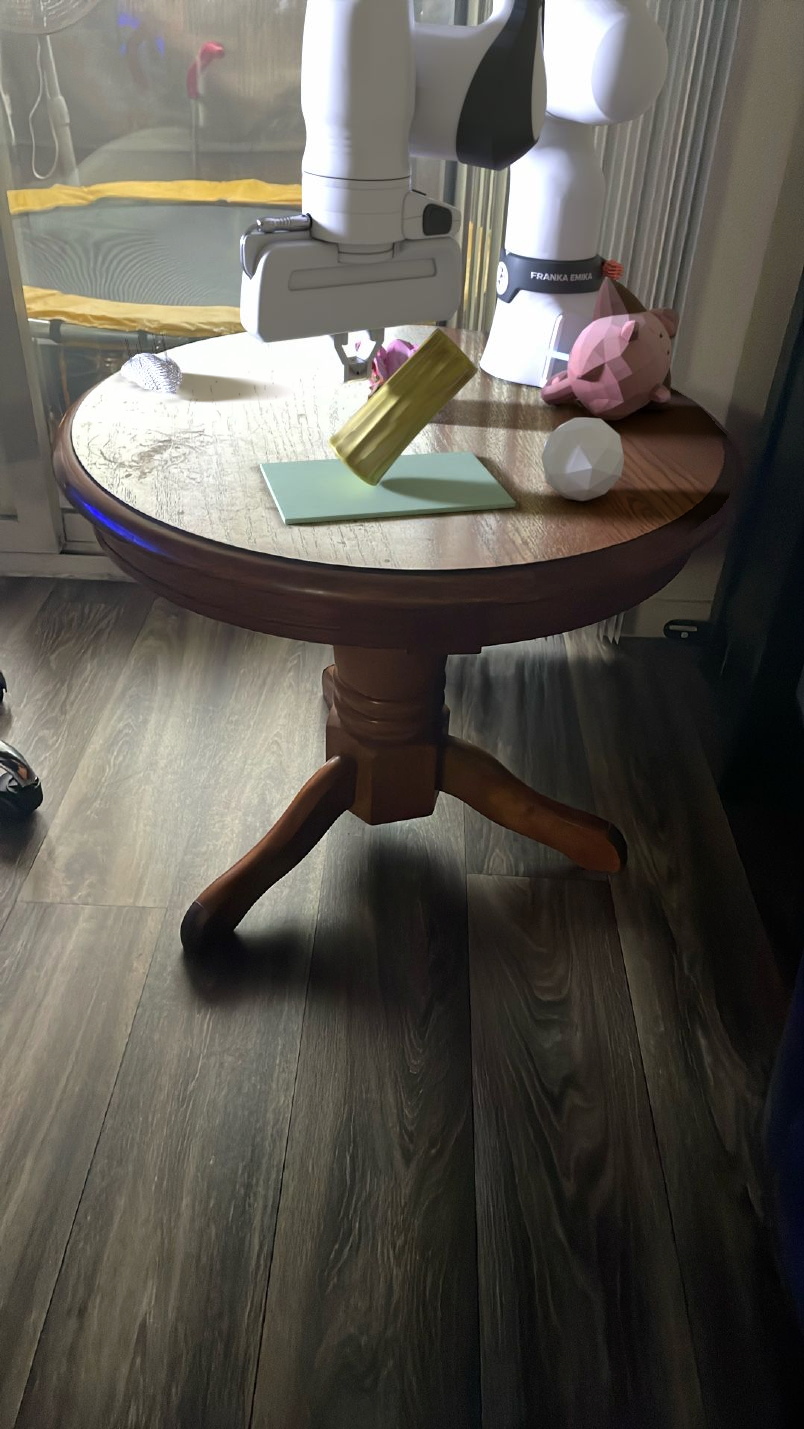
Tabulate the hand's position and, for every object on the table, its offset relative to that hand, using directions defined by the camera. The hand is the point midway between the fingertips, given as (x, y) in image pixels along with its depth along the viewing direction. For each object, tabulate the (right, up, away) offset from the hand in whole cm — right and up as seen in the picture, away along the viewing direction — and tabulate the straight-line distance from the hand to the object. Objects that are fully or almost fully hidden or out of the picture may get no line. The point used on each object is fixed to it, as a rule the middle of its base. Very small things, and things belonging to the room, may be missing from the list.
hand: (352, 380), depth 92 cm
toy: (+24, +5, +23) cm, 33 cm away
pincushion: (-24, +8, +28) cm, 38 cm away
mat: (+3, -8, +7) cm, 11 cm away
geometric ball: (+21, -9, +8) cm, 24 cm away
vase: (0, -7, +5) cm, 8 cm away
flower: (+4, +5, +25) cm, 26 cm away
